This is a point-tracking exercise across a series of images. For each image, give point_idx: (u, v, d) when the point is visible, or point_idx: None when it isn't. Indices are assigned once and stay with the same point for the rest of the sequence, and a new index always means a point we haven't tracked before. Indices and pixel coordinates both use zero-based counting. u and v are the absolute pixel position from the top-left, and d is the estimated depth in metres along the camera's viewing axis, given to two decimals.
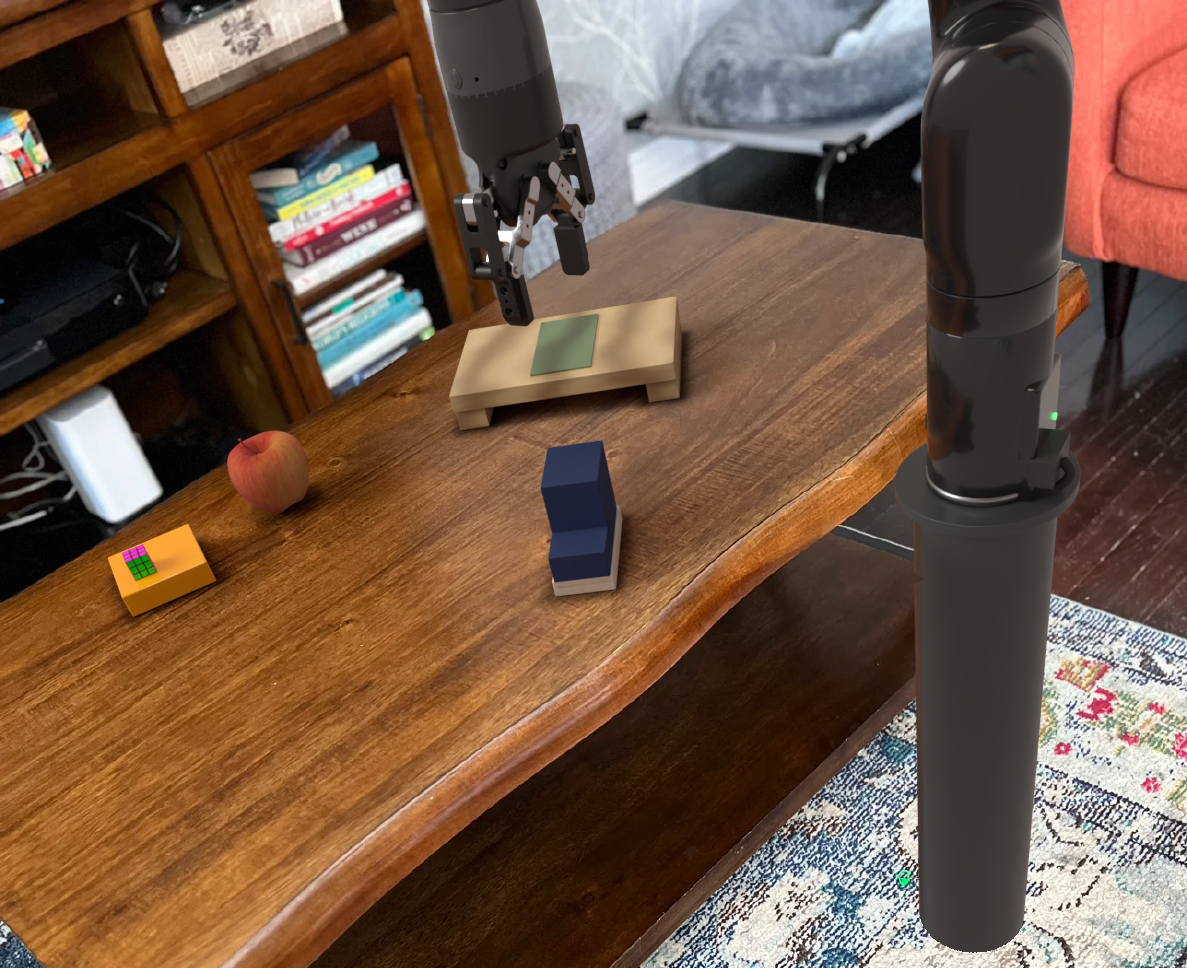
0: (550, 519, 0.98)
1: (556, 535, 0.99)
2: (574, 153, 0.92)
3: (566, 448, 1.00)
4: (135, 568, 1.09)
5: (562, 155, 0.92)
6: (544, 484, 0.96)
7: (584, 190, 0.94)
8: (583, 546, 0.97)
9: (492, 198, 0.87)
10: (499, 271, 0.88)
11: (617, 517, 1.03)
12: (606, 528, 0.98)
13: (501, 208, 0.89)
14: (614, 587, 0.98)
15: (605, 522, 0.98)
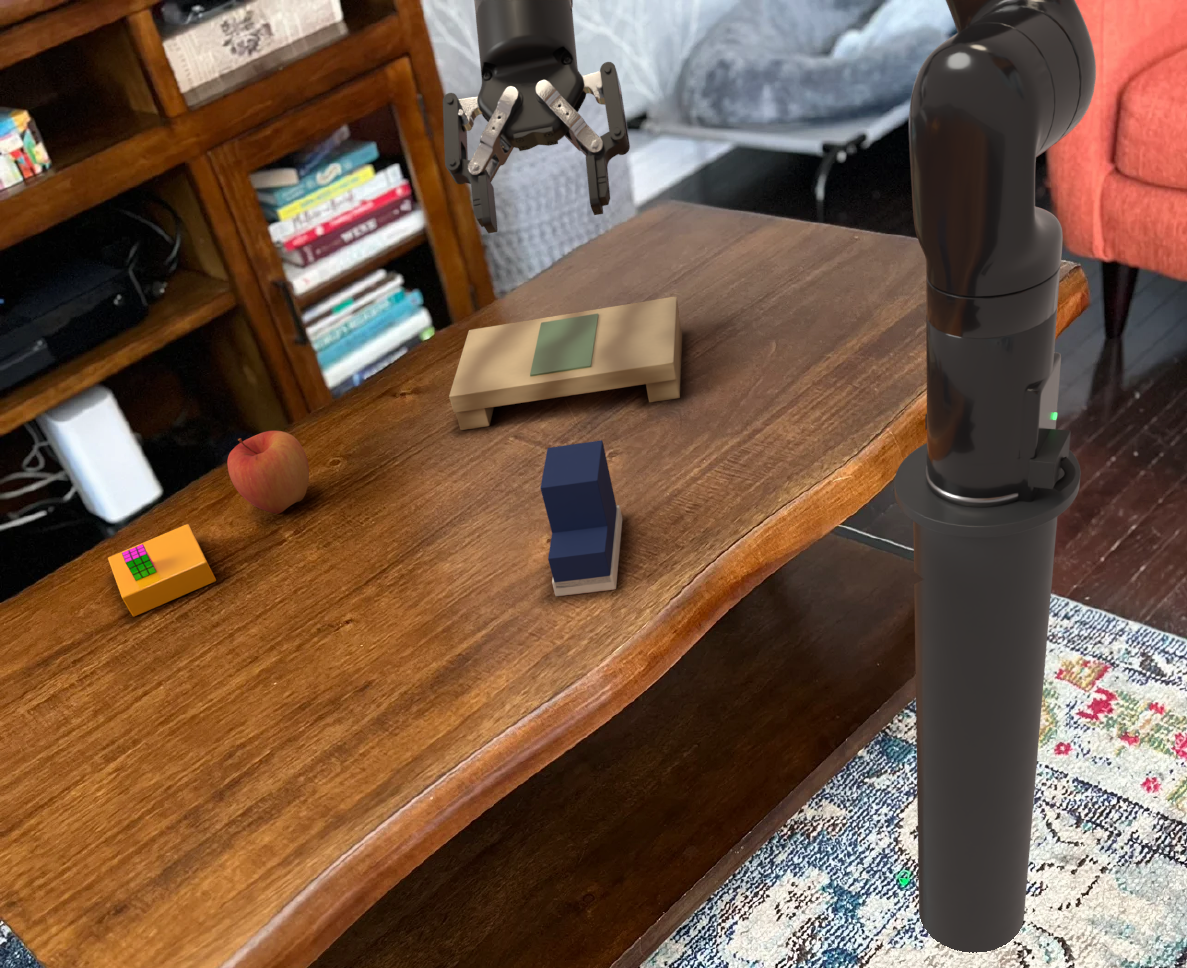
0: (550, 519, 0.98)
1: (556, 535, 0.99)
2: (599, 87, 0.93)
3: (566, 448, 1.00)
4: (135, 568, 1.09)
5: (595, 93, 0.94)
6: (544, 484, 0.96)
7: (608, 125, 0.93)
8: (583, 546, 0.97)
9: (474, 106, 0.96)
10: (448, 160, 0.95)
11: (617, 517, 1.03)
12: (606, 528, 0.98)
13: None
14: (614, 587, 0.98)
15: (605, 522, 0.98)
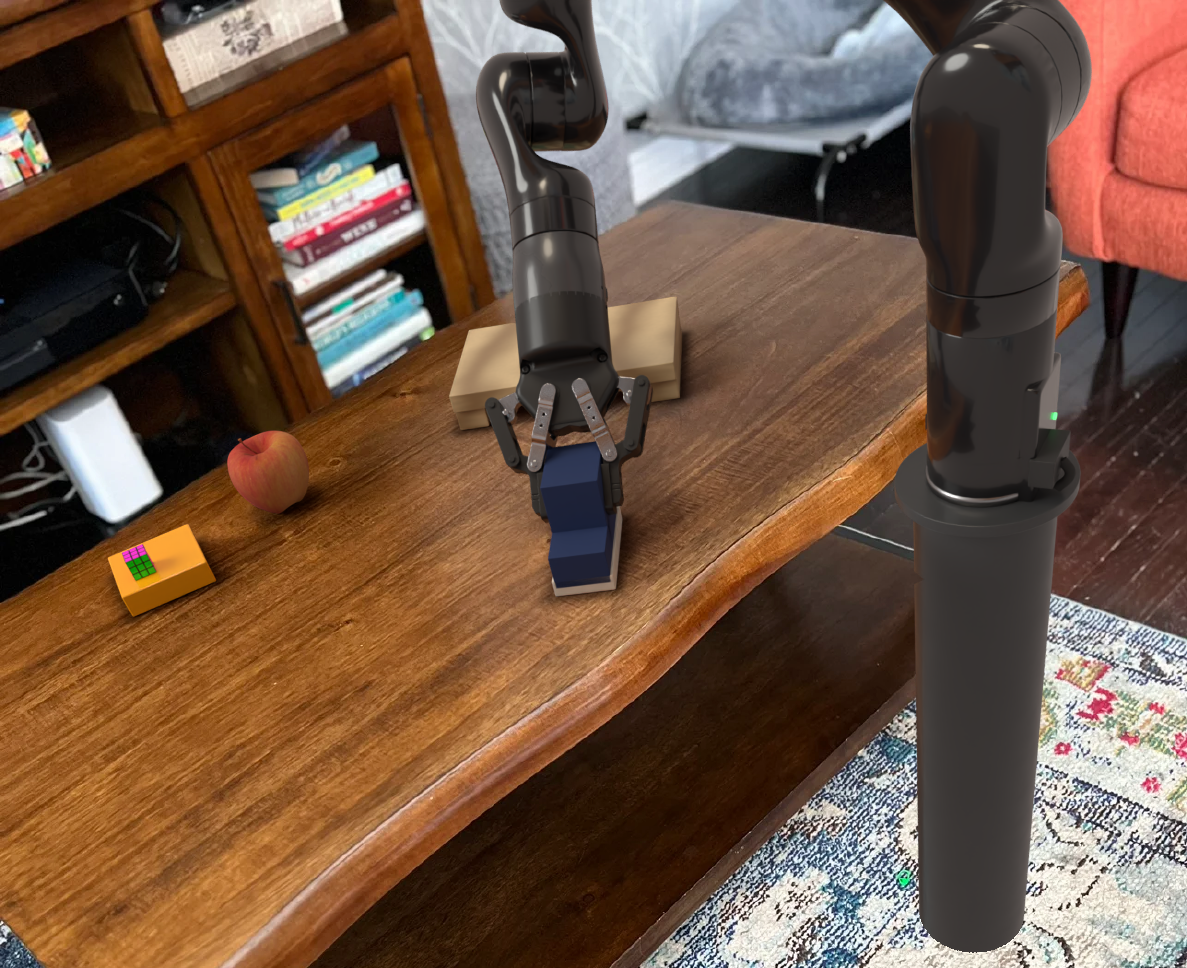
0: (550, 519, 0.98)
1: (556, 535, 0.99)
2: (629, 395, 0.97)
3: (566, 448, 1.00)
4: (135, 568, 1.09)
5: (624, 396, 0.98)
6: (544, 484, 0.96)
7: (625, 433, 0.97)
8: (583, 546, 0.97)
9: (515, 402, 0.99)
10: (508, 458, 0.99)
11: (617, 517, 1.03)
12: (606, 528, 0.98)
13: None
14: (614, 587, 0.98)
15: (605, 522, 0.98)
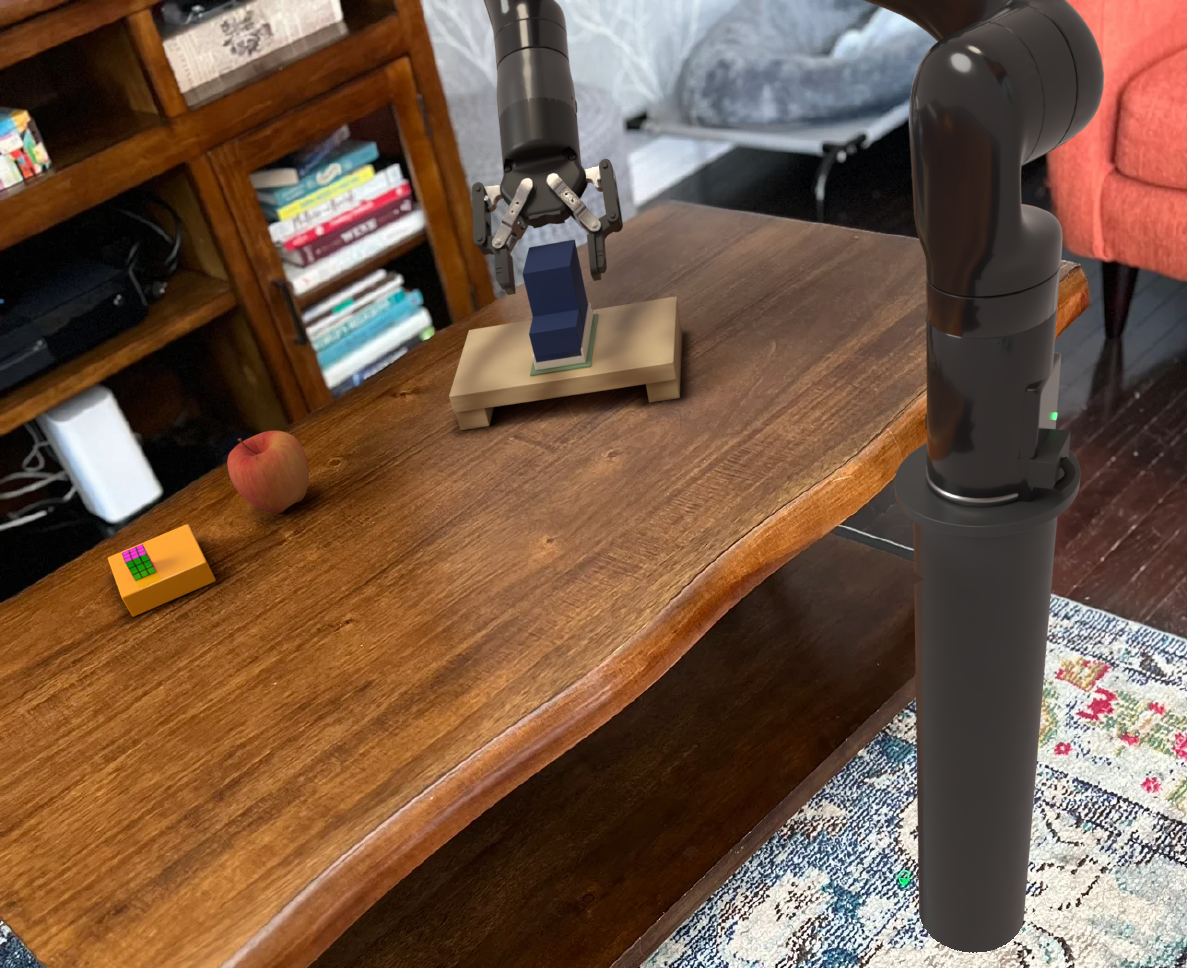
0: (531, 303, 1.17)
1: (536, 318, 1.18)
2: (598, 179, 1.16)
3: (544, 246, 1.19)
4: (135, 568, 1.09)
5: (595, 183, 1.17)
6: (525, 271, 1.16)
7: (605, 209, 1.16)
8: (558, 323, 1.16)
9: (497, 193, 1.18)
10: (476, 236, 1.18)
11: (588, 310, 1.22)
12: (577, 311, 1.17)
13: None
14: (584, 360, 1.18)
15: (577, 306, 1.17)
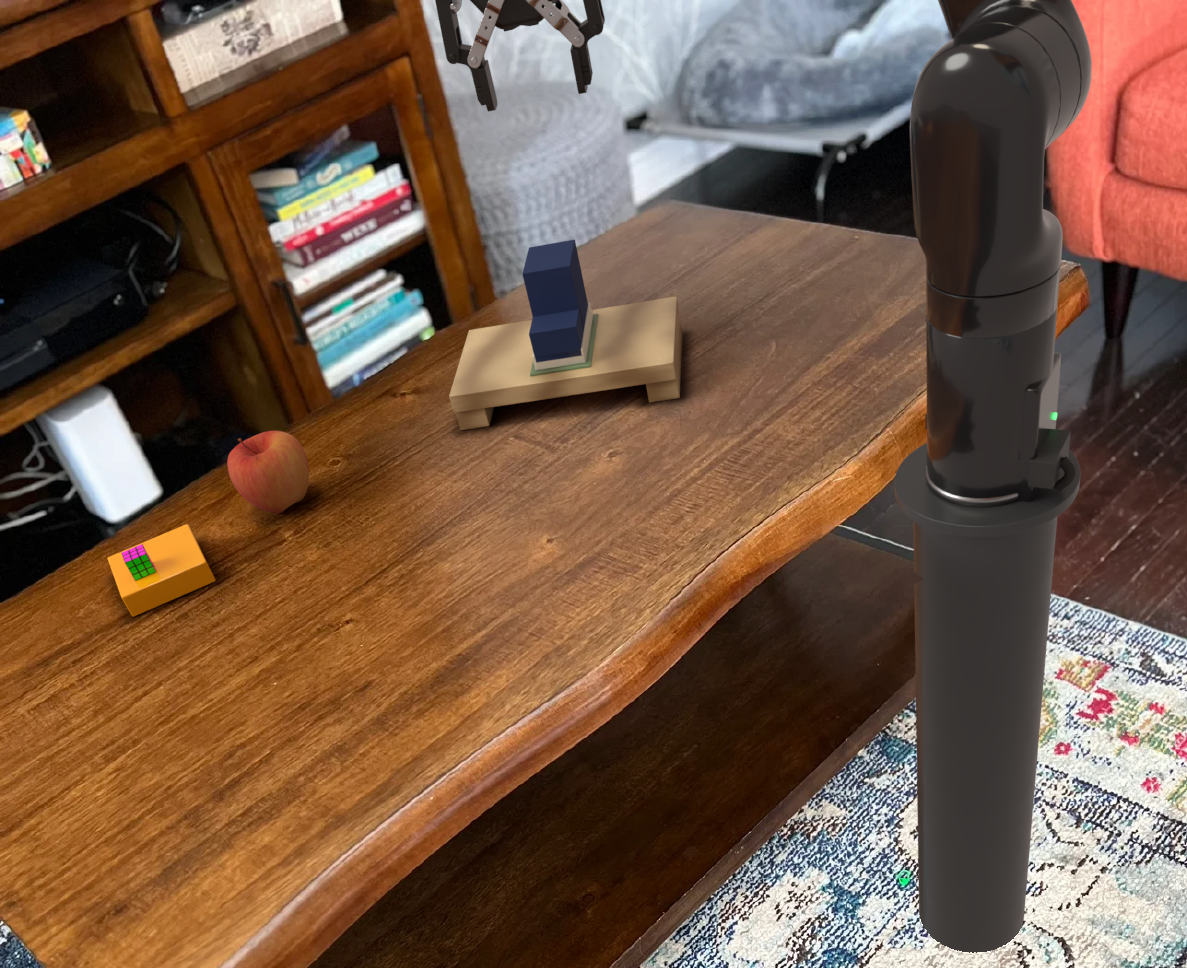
0: (531, 303, 1.17)
1: (536, 318, 1.18)
2: None
3: (544, 246, 1.19)
4: (134, 568, 1.09)
5: None
6: (525, 271, 1.16)
7: (587, 19, 1.07)
8: (558, 323, 1.16)
9: None
10: (449, 55, 1.09)
11: (588, 310, 1.22)
12: (577, 311, 1.17)
13: None
14: (584, 360, 1.18)
15: (577, 306, 1.17)
